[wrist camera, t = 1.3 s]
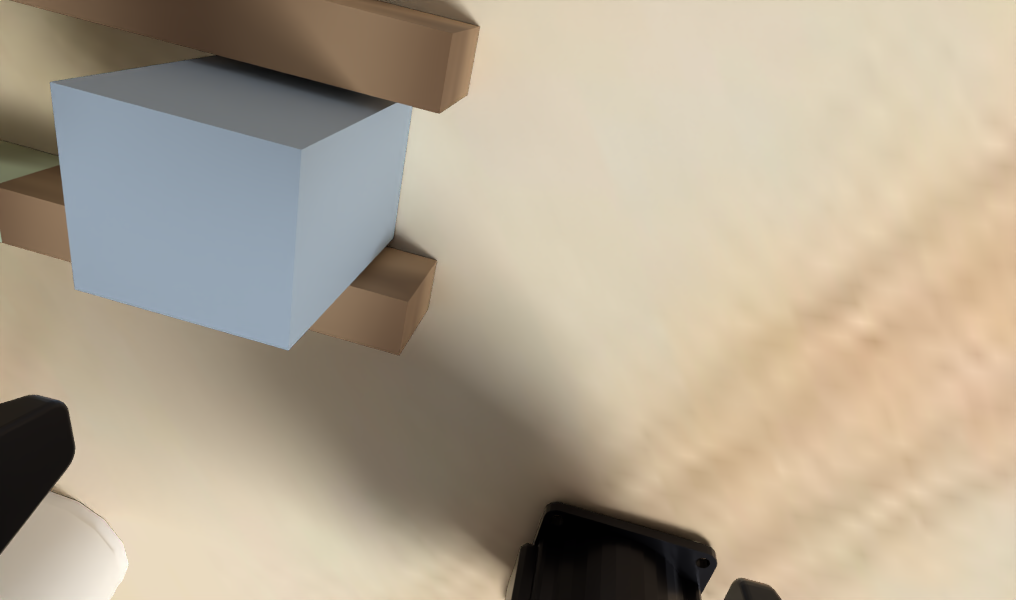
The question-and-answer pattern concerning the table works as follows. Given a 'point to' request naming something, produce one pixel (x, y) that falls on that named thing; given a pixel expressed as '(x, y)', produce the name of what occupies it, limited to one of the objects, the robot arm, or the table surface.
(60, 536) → the foam cup
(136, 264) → the block
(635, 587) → the robot arm
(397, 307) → the u-shaped frame
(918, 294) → the table surface
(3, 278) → the table surface
